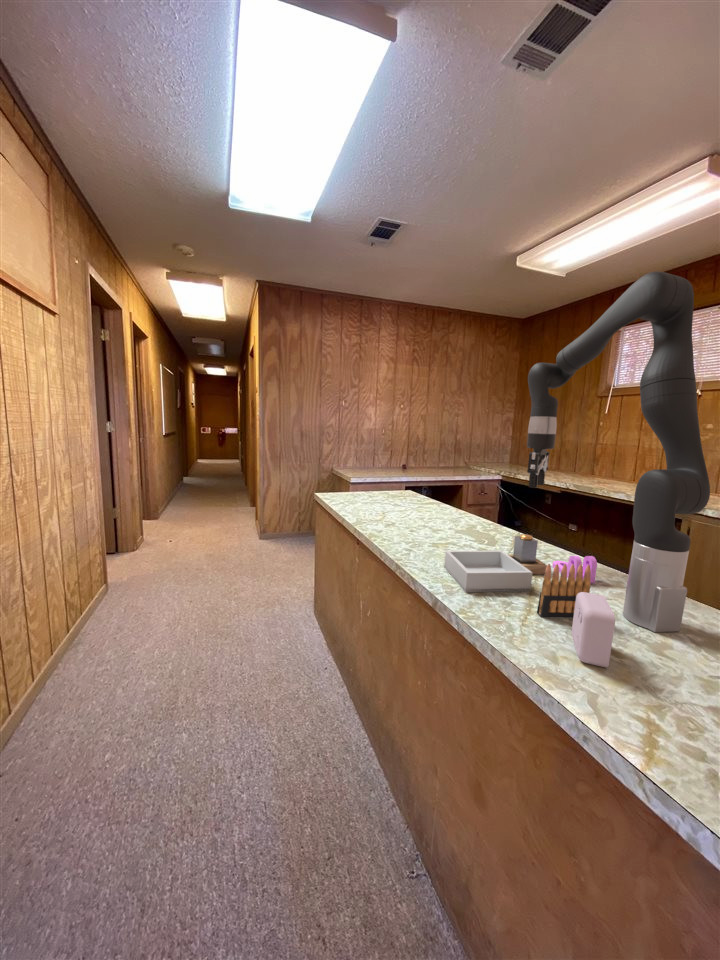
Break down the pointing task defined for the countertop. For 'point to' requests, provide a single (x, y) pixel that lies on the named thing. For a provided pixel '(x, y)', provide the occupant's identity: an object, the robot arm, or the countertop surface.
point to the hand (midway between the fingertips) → (536, 486)
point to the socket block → (535, 566)
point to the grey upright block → (525, 549)
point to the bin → (487, 571)
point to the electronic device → (593, 629)
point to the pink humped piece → (577, 561)
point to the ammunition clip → (562, 591)
